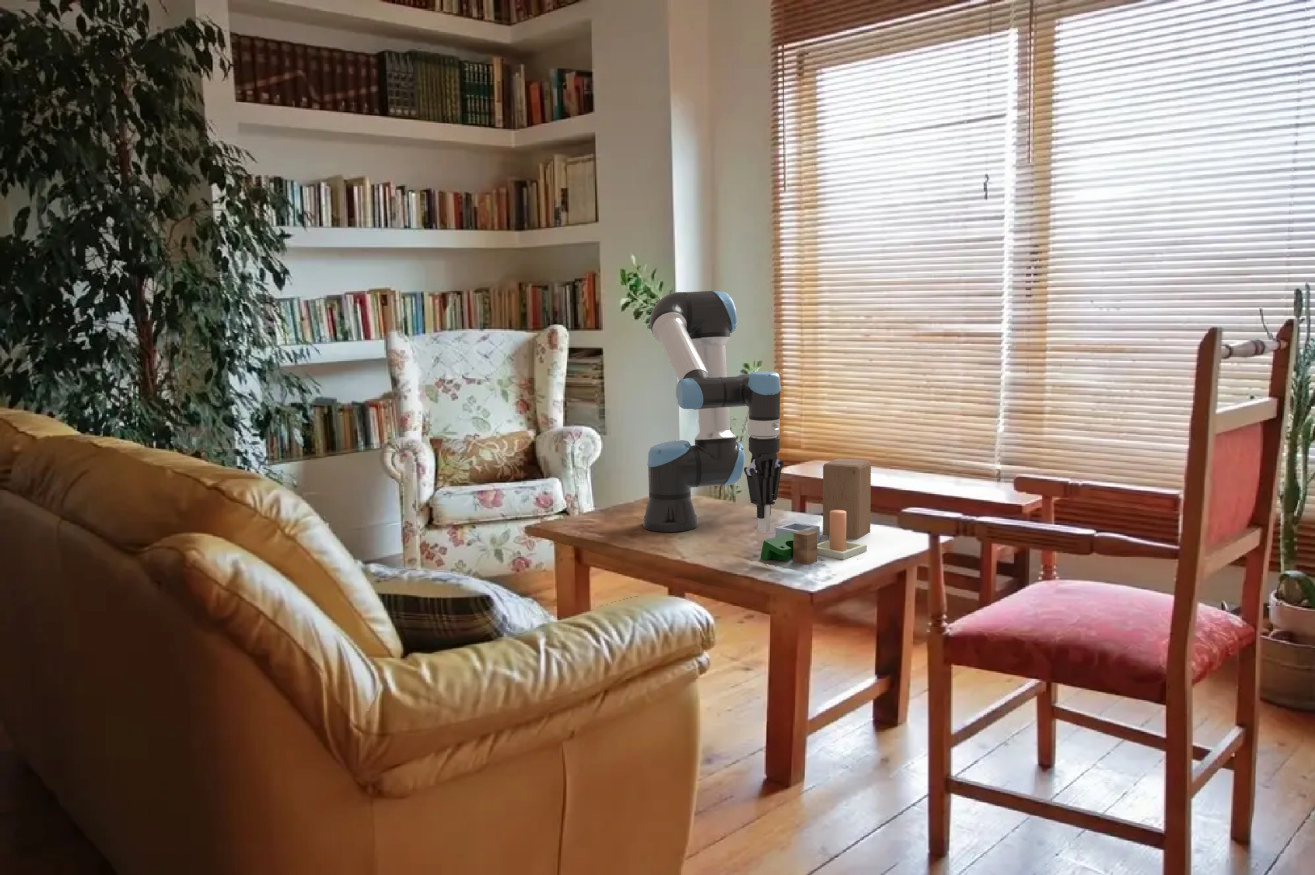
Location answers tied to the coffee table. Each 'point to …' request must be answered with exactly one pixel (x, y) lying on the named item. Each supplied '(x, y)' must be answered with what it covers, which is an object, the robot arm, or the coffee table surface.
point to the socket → (796, 529)
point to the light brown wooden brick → (805, 547)
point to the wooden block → (848, 495)
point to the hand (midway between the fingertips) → (763, 530)
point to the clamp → (778, 548)
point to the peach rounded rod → (838, 530)
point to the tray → (850, 551)
